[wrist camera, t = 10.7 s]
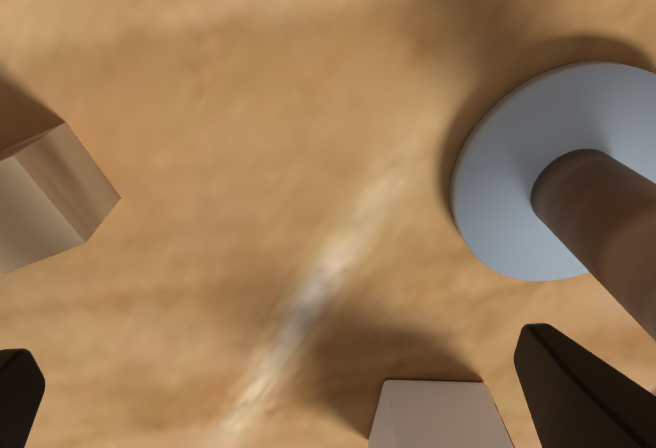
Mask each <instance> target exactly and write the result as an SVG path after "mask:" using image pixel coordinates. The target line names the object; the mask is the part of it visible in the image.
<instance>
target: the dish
mask: <svg viewBox="0 0 656 448" xmlns="http://www.w3.org/2000/svg"><path fill="white" fill-rule="evenodd" d="M578 149H596V150H600V151H602V152H604V153H606V154H607V155H609V156H611V157H612V158H614V159H616V160H617V161H619V162H621V163H622V164H624V165H626V166H627V167H629V168H631V169H632V170H634V171H635V172H637V173H639V174H640V175H642V176H644V177H645V178H647V179H649V180H650V181H652V182H654V183H655V184H656V74H654V73H652V72H649V71H647V70H644V69H640V68H637V67H633V66H630V65H627V64H622V63H617V62H612V61H584V62H576V63H572V64H568V65H563V66H560V67H557V68H554V69H551V70H548V71H546V72H543V73H541V74H539V75H537V76H535V77H533V78H531V79H529V80H527V81H525V82H524V83H522V84H521V85H519V86H518V87H516V88H514V89H513V90H511V91H510V92H509V93H508V94H506V95H505V96H504V97H503V98H501V99H500V100H499V101H498V102H497V103H496V104H495V105H494V106H493V107H492V108H491V109H490V110H489V111H488V112H486V113H485V115H484V116H483V117H482V118H481V120H480V121H479V122H478V123H477V124H476V126H475V127H474V128H473V130H472V131H471V133H470V134H469V136H468V138H467V139H466V141H465V143H464V145H463V147H462V149H461V151H460V153H459V155H458V157H457V160H456V163H455V166H454V169H453V173H452V178H451V184H450V207H451V212H452V216H453V220H454V222H455V224H456V227H457V229H458V231H459V233H460V234H461V236H462V238H463V239H464V241H465V243H466V244H467V246H468V247H469V249H470V250H471V252H472V253H473V254H474V255H475V256H476V257H477V259H478V260H480V261H481V262H482V263H483V264H485V265H486V266H487V267H489V268H490V269H492V270H494V271H496V272H498V273H500V274H503V275H505V276H508V277H512V278H516V279H520V280H528V281H550V280H560V279H565V278H570V277H574V276H577V275H581V274H584V273H587V272H589V271H588V270H587V269H586V267H585V266H584V265H583V264H582V263H581V262H580V261H579V260H578V259H577V258H576V257H575V256H574V255H573V254H572V253H571V252H570V251H569V250H568V249H567V247H566V246H565V245H564V244H563V243H562V242H561V241H560V240H559V239H558V238H557V237H556V236H555V235H554V234H553V233H552V232H551V231H550V230H549V229H548V227H547V226H546V225H545V224H544V223H543V222H542V221H541V220H540V219H539V218H538V217H537V216H536V215H535V213H534V212H533V209H532V207H531V199H530V198H531V191H532V188H533V185H534V183H535V181H536V179H537V177H538V176H539V174H540V173H541V172H542V171H543V169H544V168H545V167H546V166H547V165H548V164H550V163H551V162H552V161H553V160H555V159H556V158H558V157H560V156H562V155H563V154H566V153H568V152H571V151H574V150H578Z"/></svg>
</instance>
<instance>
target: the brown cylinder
mask: <svg viewBox="0 0 656 448" xmlns="http://www.w3.org/2000/svg"><path fill="white" fill-rule="evenodd" d="M530 199H531V207H532V209H533V212H534V213H535V215H536V216H537V217H538V218H539V219H540V220H541V221H542V222H543V223H544V224H545V225H546V226H547V227H548V229H549V230H550V231H551V232H552V233H553V234H554V235H555V236H556V237H557V238H558V239H559V240H560V241H561V242H562V243H563V244H564V245H565V246H566V247H567V249H568V250H569V251H570V252H571V253H572V254H573V255H574V256H575V257H576V258H577V259H578V260H579V261H580V262H581V263H582V264H583V265H584V266H585V267H586V269H587V270H588V271H589V272H590V273H591V274H592V275H593V276H594V277H595V278H596V279H597V280H598V281H599V282H600V283H601V284H602V285H603V286H604V287H605V289H606V290H607V291H608V292H609V293H610V294H611V295H612V296H613V297H614V298H615V299H616V300H617V301H618V302H619V303H620V304H621V305H622V306H623V307H624V309H625V310H626V311H627V312H628V313H629V314H630V315H631V316H632V317H633V318H634V319H635V320H636V321H637V322H638V323H639V324H640V325H641V326H642V327H643V329H644V330H645V331H646V332H647V333H648V334H649V335H650V336H651V337H652V338H653V339H654V340H655V341H656V184H655V183H654V182H652V181H650V180H649V179H647V178H645V177H644V176H642V175H640V174H639V173H637V172H635V171H634V170H632V169H631V168H629V167H627V166H626V165H624V164H622V163H621V162H619V161H617V160H616V159H614V158H612V157H611V156H609V155H607V154H606V153H604V152H602V151H600V150H596V149H578V150H574V151H571V152H568V153H566V154H563V155H562V156H560V157H558V158H556V159H555V160H553V161H552V162H551V163H550V164H548V165H547V166H546V167H545V168H544V169H543V171H542V172H541V173H540V174H539V176H538V177H537V179H536V181H535V183H534V185H533V188H532V191H531V198H530Z"/></svg>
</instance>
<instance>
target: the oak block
mask: <svg viewBox="0 0 656 448" xmlns="http://www.w3.org/2000/svg"><path fill="white" fill-rule="evenodd" d="M120 199H121V197H120V196H119V194H118V193H117V191H116V190H115V189H114V187H113V186H112V185H111V183H110V182H109V180H108V179H107V178H106V176H105V175H104V174H103V172H102V171H101V169H100V168H99V167H98V165H97V164H96V163H95V161H94V160H93V158H92V157H91V156H90V154H89V153H88V152H87V150H86V149H85V147H84V146H83V145H82V143H81V142H80V141H79V139H78V138H77V136H76V135H75V134H74V132H73V131H72V130H71V128H70V127H69V125H68V124H67V123H66V122H64V123H62V124H60V125H58V126H55V127H53V128H51V129H48V130H46V131H44V132H41V133H39V134H37V135H34V136H32V137H30V138H28V139H25V140H23V141H21V142H18V143H16V144H14V145H11V146H9V147H7V148H4V149H2V150H0V272H1V273H2V274H6V273H8V272H11V271H13V270H16V269H19V268H21V267H24V266H26V265H29V264H32V263H34V262H37V261H40V260H42V259H45V258H47V257H50V256H53V255H55V254H58V253H60V252H63V251H66V250H68V249H71V248H73V247H76V246H79V245H81V244H84V243H86V242H87V240H88V239H89V238H90V237H91V235H92V234H93V233H94V232H95V230H96V229H97V228H98V227H99V225H100V224H101V223H102V221H103V220H104V219H105V218H106V216H107V215H108V214H109V213H110V211H111V210H112V209H113V208H114V206H115V205H116V204H117V203H118V201H119V200H120Z"/></svg>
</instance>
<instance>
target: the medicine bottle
mask: <svg viewBox="0 0 656 448" xmlns="http://www.w3.org/2000/svg"><path fill="white" fill-rule="evenodd" d="M368 446H369V448H515V447H514V445H513V443H512V440H511V438H510V436H509V434H508V431H507V429H506V427H505V425H504V422H503V420H502V418H501V416H500V413H499V411H498V409H497V407H496V404H495V402H494V400H493V398H492V395H491V393H490V391H489V389H488V386H487V385H486V384H485V383H481V382H449V381H416V380H386V381H385V382H384V384H383V387H382V391H381V395H380V399H379V403H378V406H377V410H376V414H375V418H374V422H373V426H372V429H371V433H370V437H369V441H368Z"/></svg>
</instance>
